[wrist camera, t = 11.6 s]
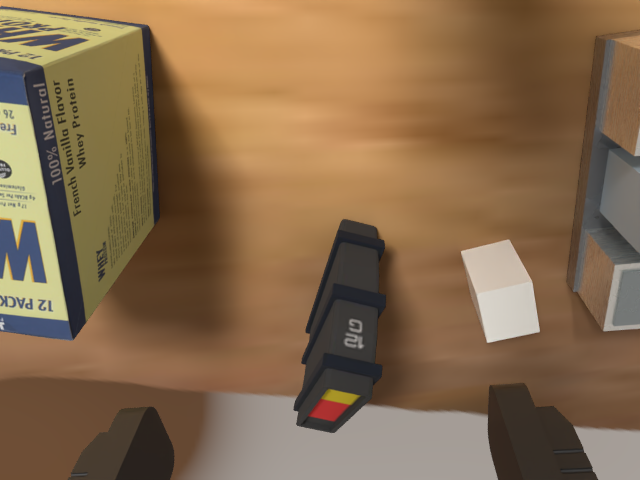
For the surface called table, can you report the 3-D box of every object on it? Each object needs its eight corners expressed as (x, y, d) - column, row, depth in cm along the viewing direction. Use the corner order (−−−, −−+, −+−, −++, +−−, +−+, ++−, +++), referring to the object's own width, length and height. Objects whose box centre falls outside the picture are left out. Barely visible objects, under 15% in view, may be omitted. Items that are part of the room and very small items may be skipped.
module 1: (460, 251, 42) (476, 293, 37) (509, 239, 41) (532, 281, 36) (471, 296, 44) (487, 342, 39) (517, 286, 44) (539, 331, 38)
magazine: (395, 201, 38) (380, 396, 30) (352, 280, 49) (332, 439, 41) (348, 190, 38) (319, 383, 29) (315, 272, 49) (287, 430, 40)
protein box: (150, 20, 34) (22, 69, 21) (162, 219, 42) (76, 348, 29) (-3, 1, 34) (-233, 38, 20) (38, 204, 42) (-107, 327, 28)
